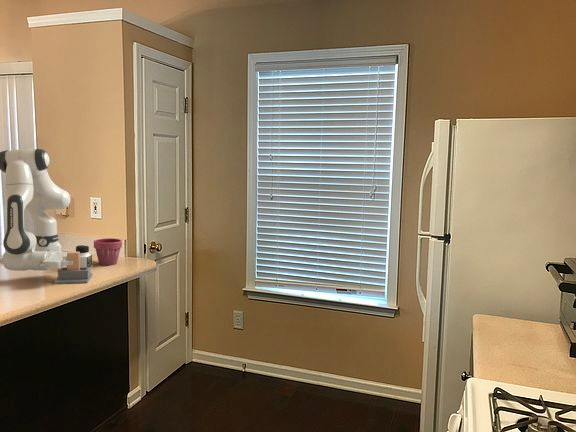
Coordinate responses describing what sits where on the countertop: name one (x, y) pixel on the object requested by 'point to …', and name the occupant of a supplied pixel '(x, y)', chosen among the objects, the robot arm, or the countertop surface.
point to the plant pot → (107, 250)
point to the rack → (73, 276)
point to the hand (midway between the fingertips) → (75, 260)
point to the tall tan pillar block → (76, 260)
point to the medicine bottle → (84, 256)
